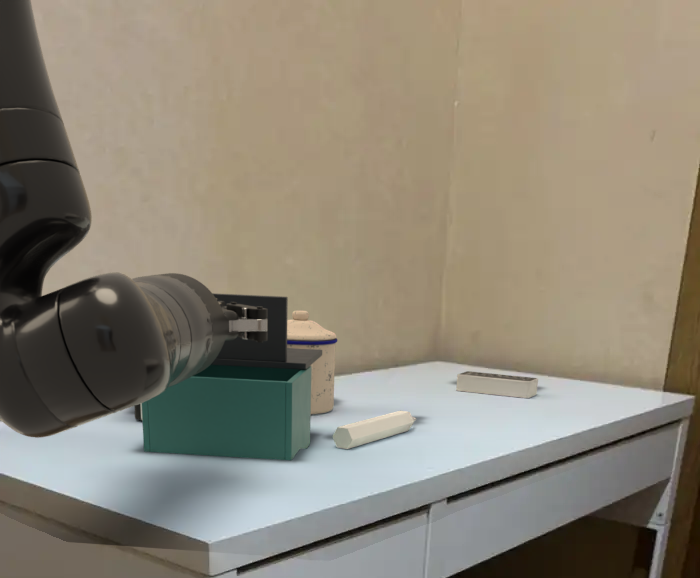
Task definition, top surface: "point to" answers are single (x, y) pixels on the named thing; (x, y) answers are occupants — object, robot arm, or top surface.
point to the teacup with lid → (323, 369)
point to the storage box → (232, 414)
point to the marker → (372, 429)
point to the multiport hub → (497, 384)
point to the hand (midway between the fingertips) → (217, 313)
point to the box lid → (275, 347)
